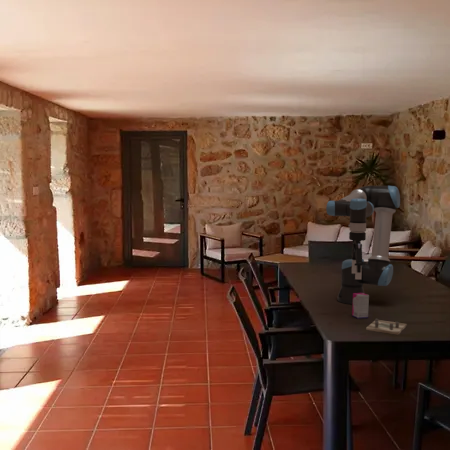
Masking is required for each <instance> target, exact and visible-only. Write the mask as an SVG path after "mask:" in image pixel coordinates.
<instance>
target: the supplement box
mask: <svg viewBox="0 0 450 450" xmlns="http://www.w3.org/2000/svg"><path fill="white" fill-rule="evenodd" d="M369 300H370V295H369V294H367V293H365V292H364V293H353V304H352V310H351V316H352V317H353V318H356V319H357V320H361V319H368V318H369V304H370V303H369Z"/></svg>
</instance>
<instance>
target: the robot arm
mask: <svg viewBox="0 0 450 450" xmlns="http://www.w3.org/2000/svg"><path fill="white" fill-rule="evenodd" d="M400 205H401V195H400V190H399V188H398V187H397V186H396V185H364V186H362V187H359V188H355V189H353V190H352V191H351V192H350V194H348V195H346V196H344V197H342V198H340V199H338V200H328V202H327V203H326V209H325V210H326V214H327V215H328V216H333V217H349V223H348V225H347V226H348V227H349V231H350V232H349V233H348V235H349V236H348V239H349V240H350V241H352V248H351V259H350V258H349V259H345V260H343V261H341V273H340V274H341V277H340V278H341V280H340V283H341V284H340V285H341V286H340V288H339V291H338V294H337V301H338V302H339V303H342V304H348V305H353V293H365V291H364V285H372V286H378V287H380V286H383V287H386V286H388V285H389V284H390V283H391V281H392V279H393V275H394V266H393V264H392V263H391V260H390V259H389V250H390V243H391V242H390V241H391V231H392V221H393V215H394V214H395V213H396V211H397V209H398V208H400V207H401V206H400ZM374 212H375V219H374V230H373V238H372V239H373V240H372V248H371V256H370V257H368V259H367V261H366V262H365V259H364V258H363V244H362V243H361V242H363V241H366V239H367V233H366V231H367V218H369V217H371V215H373V214H374Z"/></svg>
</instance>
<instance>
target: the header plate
mask: <svg viewBox="0 0 450 450" xmlns="http://www.w3.org/2000/svg"><path fill="white" fill-rule="evenodd" d="M407 326H408V324H407V323H404V322H403V323H401V322H399V321H395V322H394V321H387V320H381V319H379V318H374V321H372V323H370V324H369V325H367V326H366V328H365V330H366V331H370V332H377V333H385V334H390V335H397V336H398V335H400V334H401V333H402V331H404V329H406V327H407Z"/></svg>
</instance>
